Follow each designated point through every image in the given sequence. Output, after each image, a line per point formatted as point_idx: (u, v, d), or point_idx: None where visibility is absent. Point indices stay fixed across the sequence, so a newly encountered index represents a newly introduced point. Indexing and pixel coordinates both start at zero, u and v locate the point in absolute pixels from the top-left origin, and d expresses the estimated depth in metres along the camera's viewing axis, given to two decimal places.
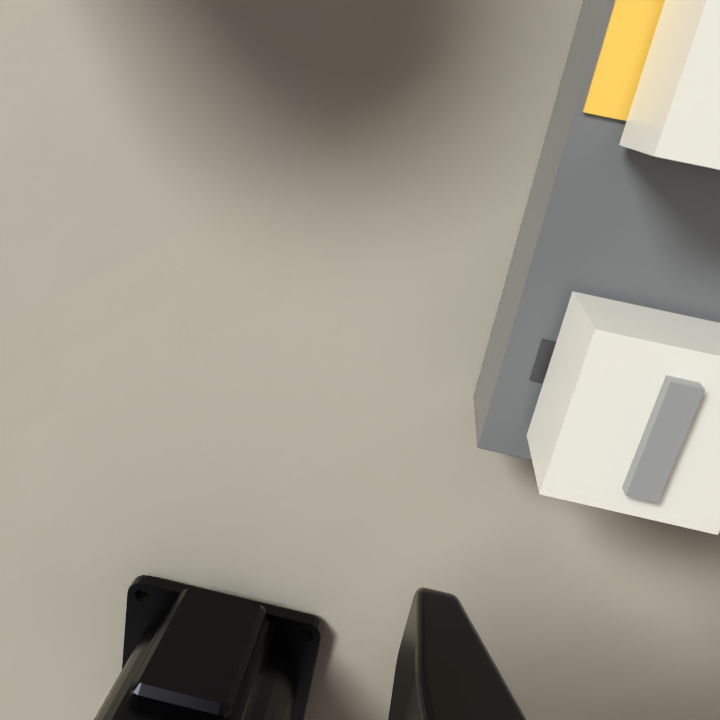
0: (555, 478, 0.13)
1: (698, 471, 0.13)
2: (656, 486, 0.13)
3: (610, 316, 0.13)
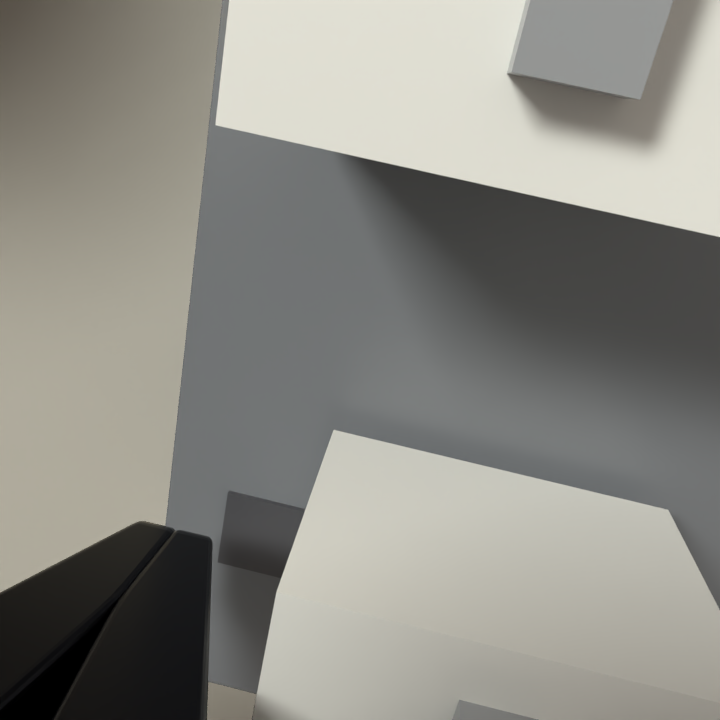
0: None
1: None
2: None
3: (365, 518, 0.06)
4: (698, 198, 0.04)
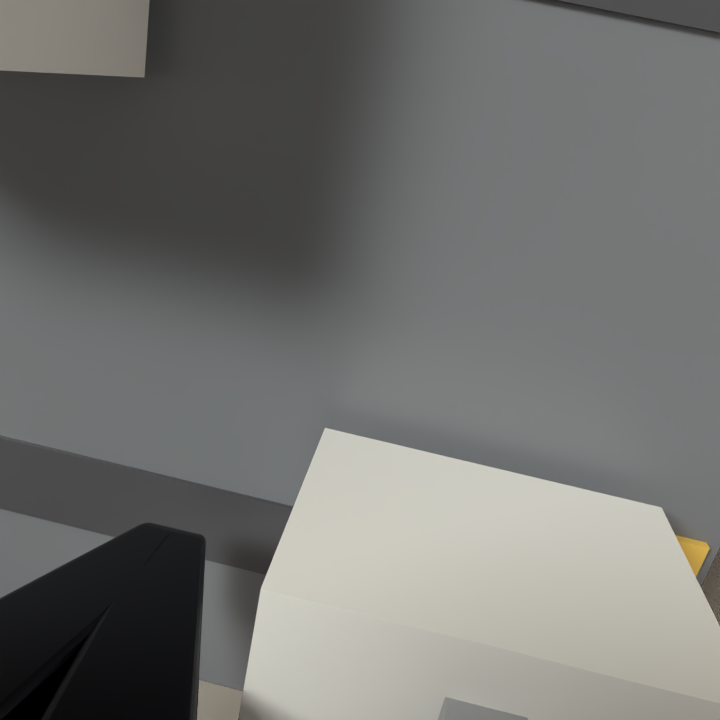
0: None
1: None
2: None
3: (353, 515, 0.06)
4: None
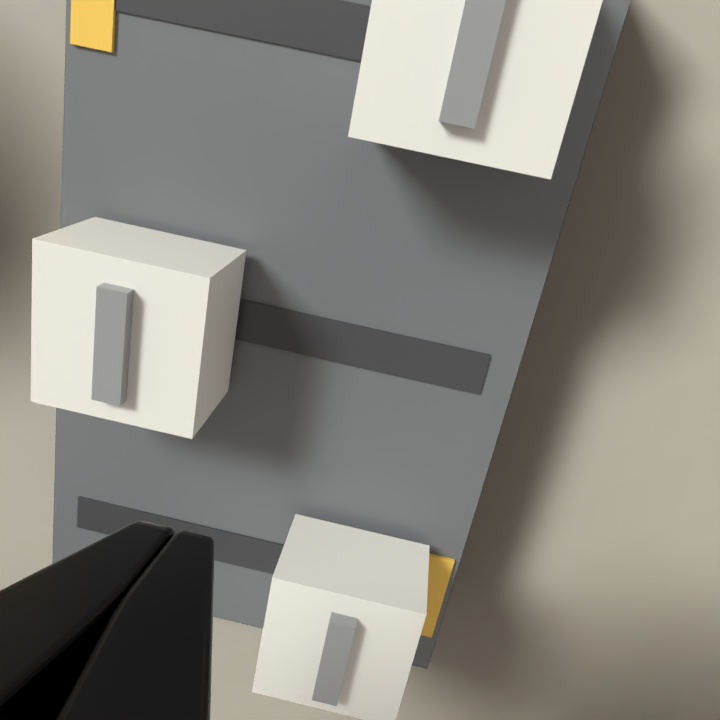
0: (262, 681, 0.16)
1: (369, 681, 0.16)
2: (334, 694, 0.16)
3: (304, 552, 0.16)
4: (148, 421, 0.14)
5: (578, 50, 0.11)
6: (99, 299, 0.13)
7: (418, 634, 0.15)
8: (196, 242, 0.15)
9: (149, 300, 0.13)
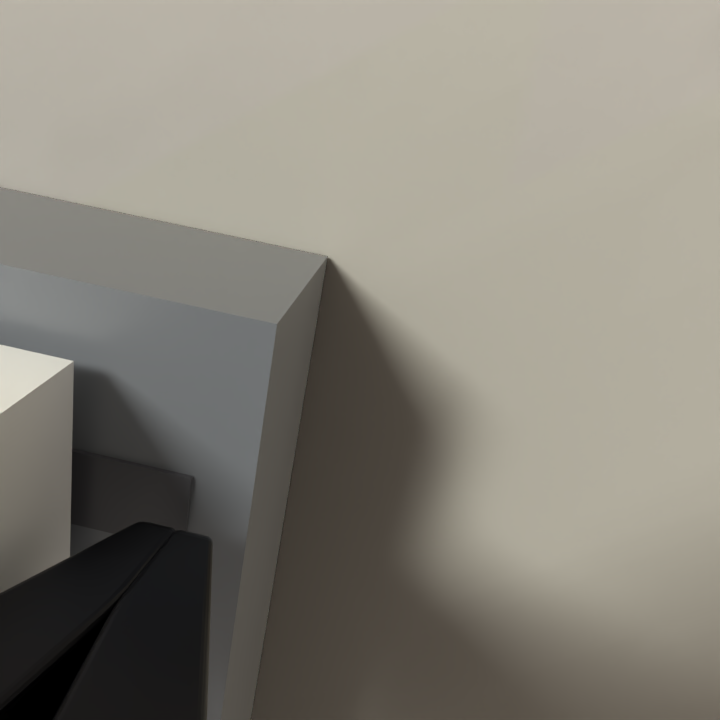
0: None
1: None
2: None
3: None
4: None
5: None
6: None
7: None
8: None
9: None
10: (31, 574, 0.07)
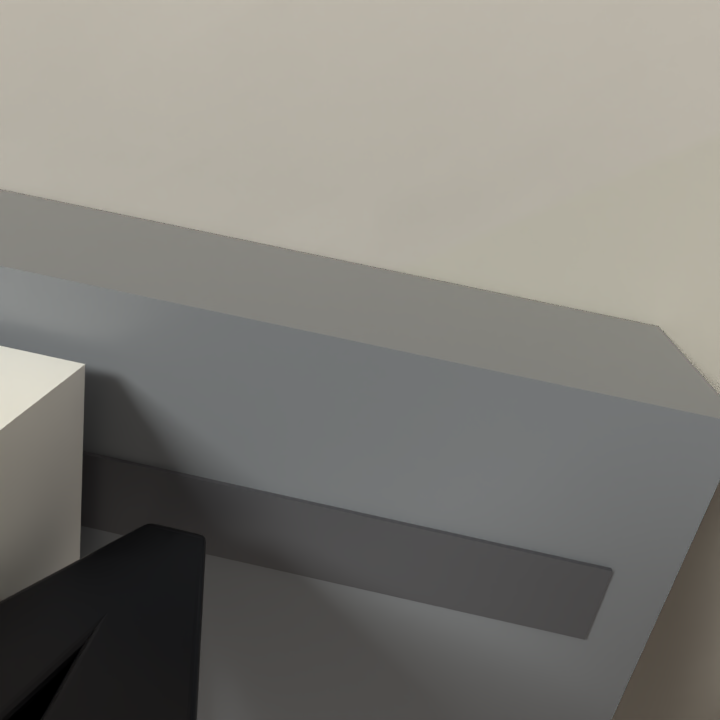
0: None
1: None
2: None
3: None
4: None
5: None
6: None
7: None
8: None
9: None
10: (43, 576, 0.07)
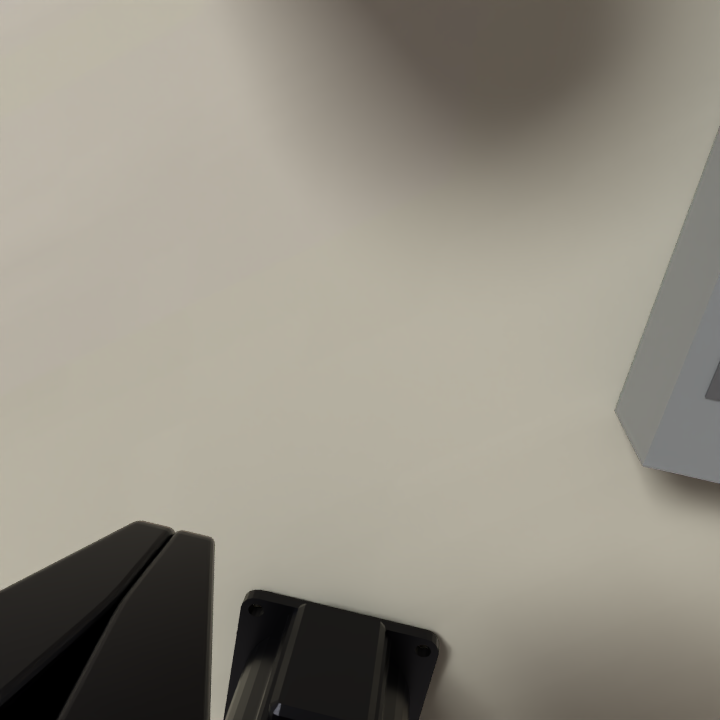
0: None
1: None
2: None
3: None
4: None
5: None
6: None
7: None
8: None
9: None
10: None
